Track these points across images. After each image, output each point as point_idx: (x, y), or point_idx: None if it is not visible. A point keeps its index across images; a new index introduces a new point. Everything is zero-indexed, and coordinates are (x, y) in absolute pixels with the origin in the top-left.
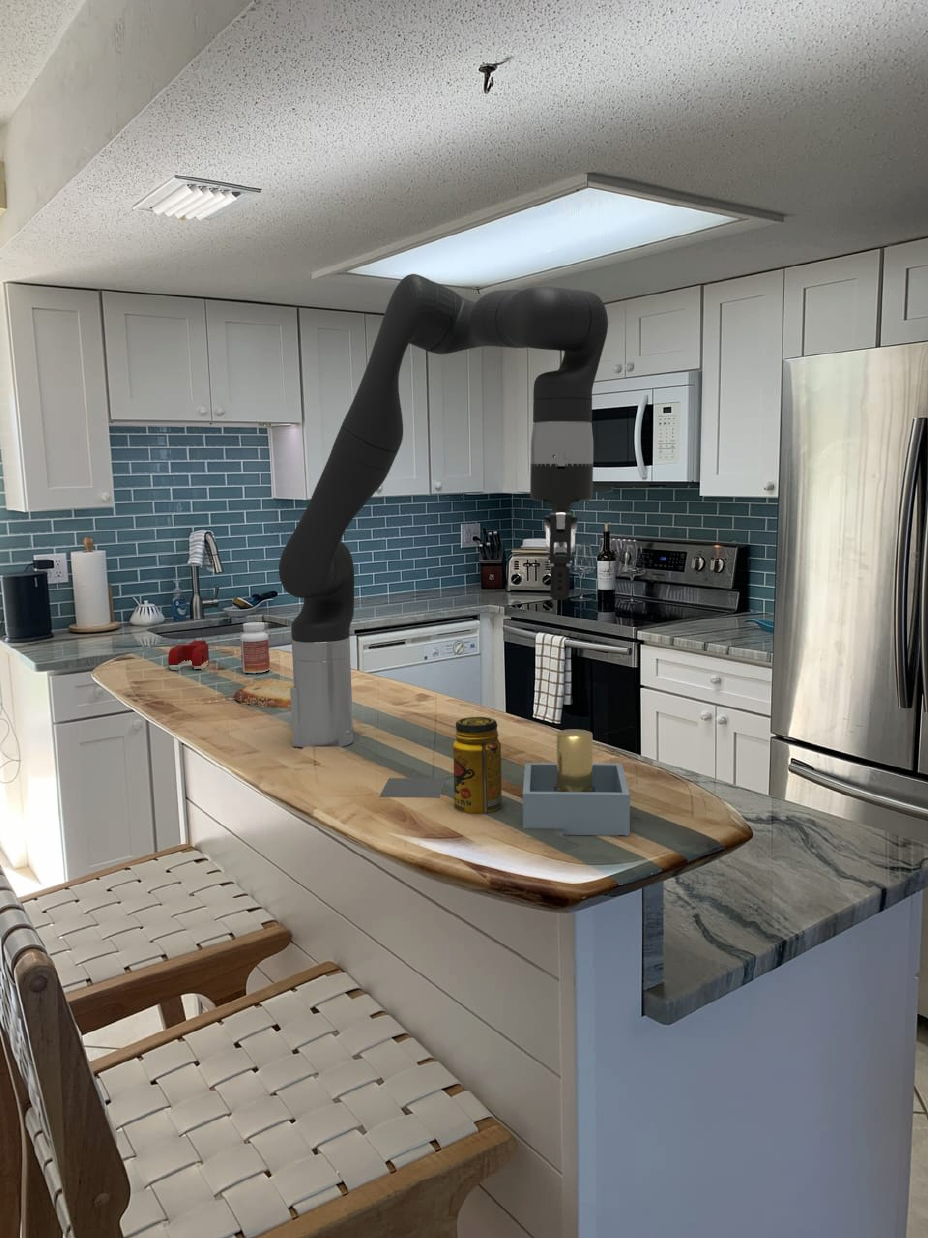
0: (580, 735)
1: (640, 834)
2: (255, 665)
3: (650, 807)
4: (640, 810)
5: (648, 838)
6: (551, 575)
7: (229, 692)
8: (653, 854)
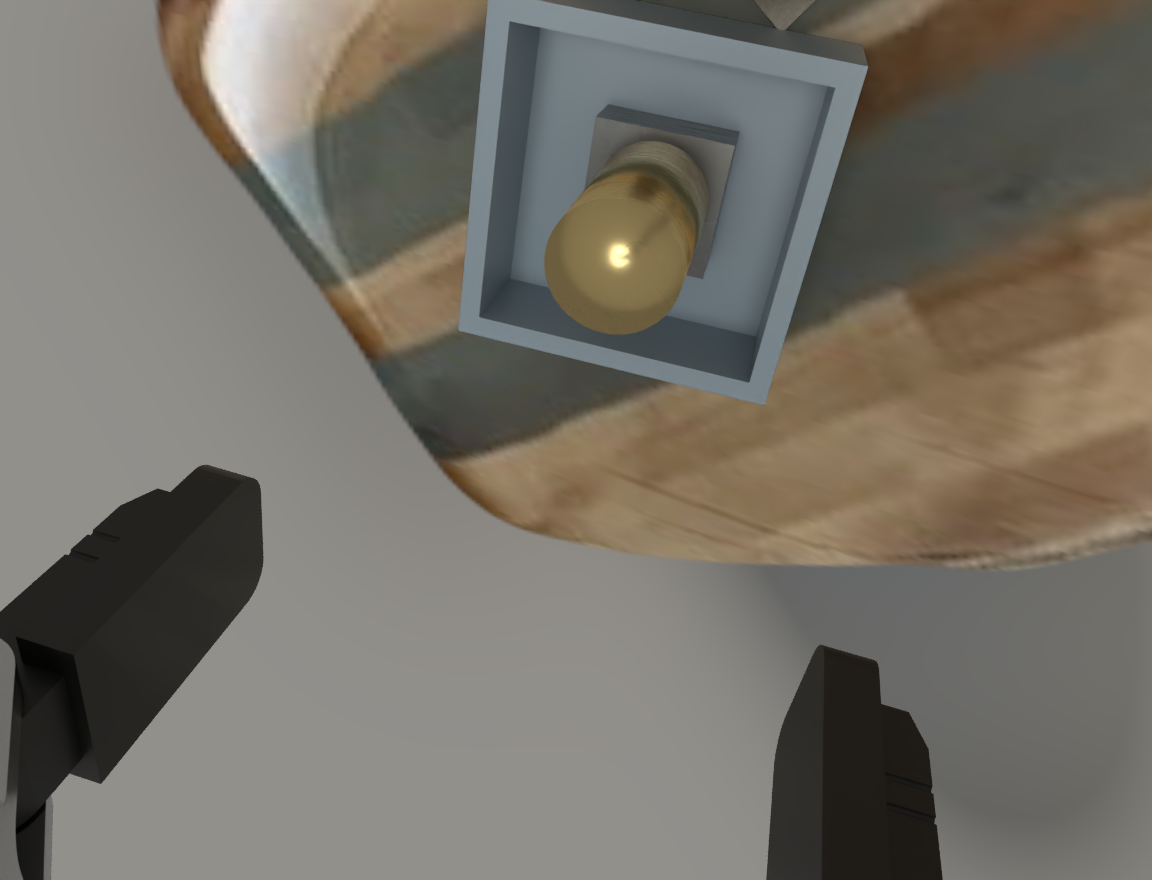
0: (586, 284)
1: None
2: None
3: (700, 405)
4: None
5: None
6: (69, 590)
7: None
8: (378, 302)
